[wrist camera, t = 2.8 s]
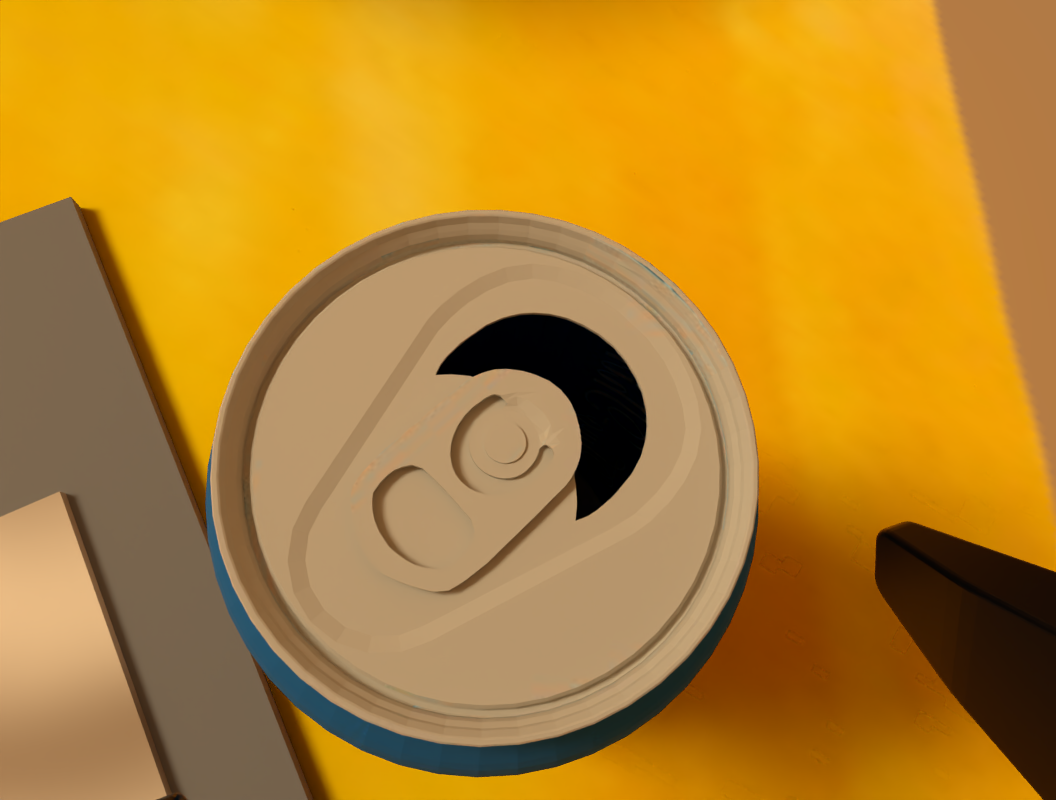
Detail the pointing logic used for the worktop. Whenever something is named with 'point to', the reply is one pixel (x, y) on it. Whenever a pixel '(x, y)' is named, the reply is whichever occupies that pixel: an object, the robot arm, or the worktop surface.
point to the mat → (108, 562)
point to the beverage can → (483, 493)
